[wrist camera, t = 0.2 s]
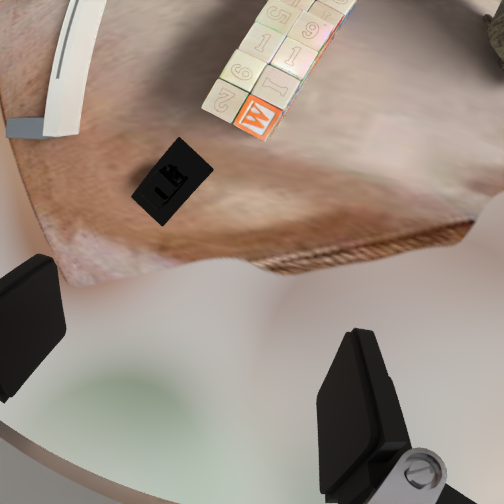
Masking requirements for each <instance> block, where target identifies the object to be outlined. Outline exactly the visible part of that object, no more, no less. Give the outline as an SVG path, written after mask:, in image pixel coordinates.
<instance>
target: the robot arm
mask: <svg viewBox="0 0 504 504" xmlns="http://www.w3.org/2000/svg"><path fill="white" fill-rule="evenodd" d="M65 333H66V323H65V317H64V312H63V306H62V299H61V293H60V286H59V278H58V269H57V265H56V264H55V262H54V259H53V258H52V257H49V256H46V255H42V254H36V255H34V256H33V257H31V258H30V259H28V260H27V261H25V262H24V263H22V264H21V265H19V266H18V267H16V268H15V269H14V270H12V271H11V272H9V273H8V274H6V275H5V276H3V277H2V278H1V279H0V401H1V402H3V403H5V402H6V401H7V400H8V398H9V397H13V396H14V395H15V394H16V392H17V391H18V390H19V389H20V387H21V386H22V385H23V384H24V382H25V381H26V380H27V379H28V378H29V376H30V375H31V374H32V373H33V372H34V370H35V369H36V368H37V367H38V366H39V365H40V363H41V362H42V361H43V360H44V359H45V358H46V356H47V355H48V354H49V353H50V352H51V351H52V349H53V348H54V347H55V346H56V345H57V344H58V343H59V342H60V340H61V339H62V338H63V337H64V336H65ZM316 405H317V423H318V447H319V477H320V478H319V482H320V493H321V494H325V501H326V502H325V503H338V504H477V503H475V502H474V501H472V500H470V499H469V498H467V497H465V496H464V495H463V494H461V493H460V492H458V491H457V490H455V489H454V488H452V487H451V486H449V485H448V484H446V483H445V482H446V479H447V470H446V467H445V464H444V462H443V461H442V459H441V458H440V457H439V456H438V455H437V454H436V453H434V452H433V451H431V450H428V449H425V448H413V449H412V446H411V442H410V439H409V435H408V432H407V428H406V424H405V421H404V418H403V414H402V410H401V407H400V404H399V400H398V397H397V394H396V391H395V388H394V384H393V381H392V380H391V378H390V377H389V376H388V373H387V370H386V367H385V364H384V360H383V358H382V355H381V352H380V349H379V346H378V343H377V340H376V337H375V335H374V332H373V331H371V330H365V329H359V328H354V329H353V330H352V331H351V332H346V333H345V336H344V338H343V340H342V342H341V345H340V347H339V349H338V352H337V354H336V356H335V358H334V360H333V363H332V365H331V367H330V369H329V371H328V374H327V376H326V377H325V380H324V382H323V384H322V386H321V388H320V390H319V392H318V395H317V403H316ZM0 504H178V503H175V502H171V501H168V500H164V499H161V498H158V497H155V496H151V495H149V494H145V493H142V492H140V491H136V490H134V489H131V488H128V487H125V486H123V485H120V484H118V483H115V482H113V481H110V480H108V479H105V478H103V477H101V476H98V475H96V474H94V473H92V472H89V471H87V470H85V469H83V468H81V467H79V466H77V465H74V464H73V463H71V462H69V461H67V460H65V459H63V458H61V457H59V456H57V455H55V454H53V453H52V452H49V451H48V450H46V449H44V448H43V447H41V446H39V445H37V444H36V443H34V442H32V441H31V440H29V439H28V438H25V437H24V436H23V435H21V434H20V433H18V432H17V431H15V430H13V429H12V428H10V427H9V426H7V425H6V424H4V423H3V422H2V421H0Z"/></svg>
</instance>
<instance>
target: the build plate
mask: <svg viewBox="0 0 504 504" xmlns="http://www.w3.org/2000/svg"><path fill="white" fill-rule="evenodd" d="M213 170H214V169H213V168H212V167H211V166H210V165H209V164H208V163H207V162H206V161H205V160H204V159H203V158H202V157H200V156H199V155H198V154H197V153H196V152H195V151H194V150H193V149H192V148H191V147H190V146H189V145H188V144H187V143H186V142H184V141H183V140H182V139H181V138H180V137H178V138H177V139H176V141H175V142H174V143H173V144H172V145H171V146H170V148H169V149H168V150H167V151H166V152H165V154H164V155H163V156H162V157H161V159H160V160H159V161H158V162H157V164H156V165H155V166H154V167H153V169H152V170H151V171H150V172H149V174H148V175H147V176H146V178H145V179H144V180H143V181H142V183H141V184H140V185H139V187H138V188H137V189H136V191H135V192H134V193H133V195H132V196H131V197H132V198H133V199H134V200H135V201H136V202H137V203H138V204H139V205H140V206H141V207H142V208H143V209H144V210H145V211H146V212H147V213H148V214H149V215H150V216H151V217H152V218H154V219H155V220H156V221H157V222H158V223H159V224H160V225H161V226H164V225H165V224H166V223H167V221H168V220H169V219H170V218H171V217H172V216H173V214H174V213H175V212H176V211H177V210H178V209H179V208H180V207H181V205H182V204H183V203H184V202H185V201H186V200H187V199H188V198H189V197H190V195H191V194H192V193H193V192H194V191H195V190H196V189H197V188H198V187H199V186H200V184H201V183H202V182H203V181H204V180H205V179H206V178H207V177H208V176H209V175H210V174H211V173H212V172H213Z"/></svg>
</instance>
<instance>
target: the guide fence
mask: <svg viewBox="0 0 504 504" xmlns="http://www.w3.org/2000/svg"><path fill="white" fill-rule="evenodd" d="M106 1H107V0H70V3H69V6H68V9H67V12H66V15H65V19H64V22H63V26H62V29H61V33H60V37H59V40H58V45H57V49H56V53H55V57H54V62H53V67H52V72H51V77H50V83H49V89H48V95H47V102H46V109H45V116H27V117H17V118H7V127H6V138H25V139H49V138H55V137H62V136H68V135H75V134H79V126H80V118H81V111H82V104H83V98H84V92H85V86H86V81H87V75H88V70H89V65H90V61H91V56H92V52H93V48H94V44H95V40H96V36H97V32H98V28H99V25H100V21H101V18H102V14H103V11H104V8H105V5H106Z"/></svg>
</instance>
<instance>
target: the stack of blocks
mask: <svg viewBox="0 0 504 504" xmlns="http://www.w3.org/2000/svg"><path fill="white" fill-rule="evenodd" d="M357 1H358V0H268V1H267V3H266V4H265V6H264V7H263V9H262V10H261V12H260V13H259V15H258V16H257V18H256V19H255V23H254V24H253V25H252V27H251V28H250V30H249V31H248V33H247V34H246V36H245V38H244V39H243V41H242V42H241V44H240V46H239V48H238V49H236V50H235V51H234V53H233V55H232V56H231V58H230V59H229V61H228V63H227V64H226V66H225V68H224V69H223V71H222V73H221V74H220V77H219V78H218V79H217V80H216V82H215V84H214V85H213V87H212V89H211V90H210V92H209V94H208V96H207V97H206V99H205V101H204V103H203V105H202V107H201V108H202V109H203V110H206V111H208V112H209V113H211V114H213V115H215V116H217V117H219V118H221V119H223V120H225V121H227V122H228V123H233V125H235V126H236V127H238V128H240V129H242V130H244V131H245V132H247V133H249V134H251V135H253V136H255V137H256V138H258V139H260V140H262V141H266V140H267V139H268V138H270V137H271V135H272V134H273V132H274V130H275V129H276V127H277V126H278V124H279V122H280V121H281V119H282V117H284V116H285V114H286V112H287V111H288V109H289V107H290V106H291V104H292V103H293V101H294V99H295V98H296V96H297V95H298V93H299V92H300V90H301V89H302V87H303V85H304V84H305V82H306V81H307V79H308V78H309V75H310V73H311V71H312V69H313V68H314V66H315V65H316V63H317V62H318V60H319V59H320V57H321V55H322V53H323V52H324V50H325V49H326V47H327V45H328V44H329V42H330V41H331V39H333V38H334V37H335V35H336V34H337V33H338V31H339V30H340V28H341V27H342V25H343V24H344V22H345V20H346V18H347V17H348V15H349V14H350V12H351V11H352V9H353V8H354V6H355V4H356V3H357Z"/></svg>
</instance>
